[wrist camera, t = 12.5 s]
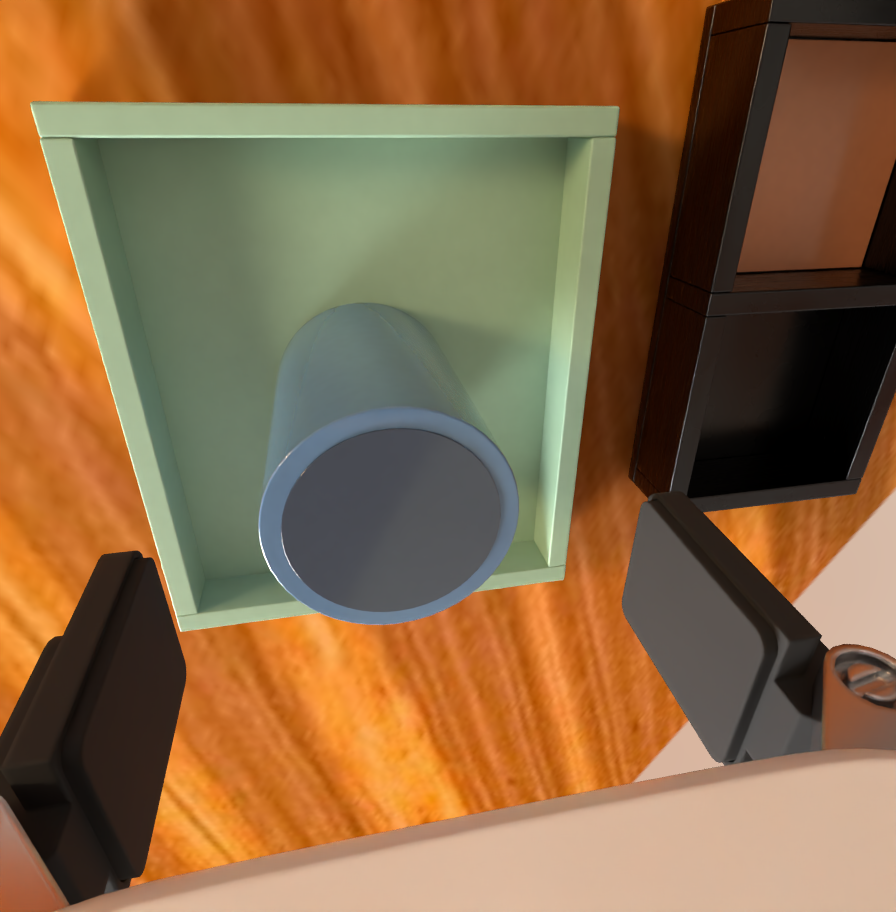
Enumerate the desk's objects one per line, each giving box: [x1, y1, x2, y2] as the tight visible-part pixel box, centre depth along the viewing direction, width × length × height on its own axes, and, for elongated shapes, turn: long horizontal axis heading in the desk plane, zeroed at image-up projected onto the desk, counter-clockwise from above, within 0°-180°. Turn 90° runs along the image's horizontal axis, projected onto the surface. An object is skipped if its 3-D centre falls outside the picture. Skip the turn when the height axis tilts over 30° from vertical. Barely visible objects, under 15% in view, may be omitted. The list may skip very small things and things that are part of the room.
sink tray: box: [30, 101, 620, 632], centre depth 21 cm, size 18×16×3 cm
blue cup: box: [258, 303, 519, 625], centre depth 18 cm, size 6×6×9 cm
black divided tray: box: [629, 0, 896, 512], centre depth 22 cm, size 17×9×3 cm, turn 0°
